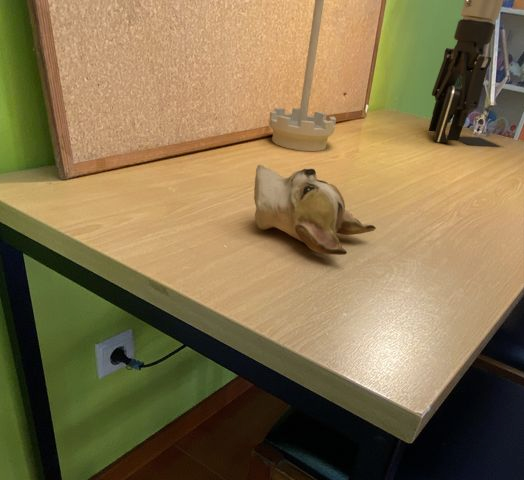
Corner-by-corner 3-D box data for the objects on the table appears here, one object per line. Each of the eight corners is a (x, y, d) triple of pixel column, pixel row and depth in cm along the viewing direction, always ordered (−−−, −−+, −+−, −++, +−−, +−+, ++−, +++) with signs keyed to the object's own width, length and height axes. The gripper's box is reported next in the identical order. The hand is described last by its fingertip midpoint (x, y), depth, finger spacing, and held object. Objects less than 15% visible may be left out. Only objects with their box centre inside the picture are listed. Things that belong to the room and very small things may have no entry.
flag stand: (323, 156, 95) (358, -43, 78) (258, 143, 98) (278, -53, 81) (336, 142, 106) (369, -36, 88) (277, 131, 108) (298, -45, 91)
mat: (499, 146, 121) (500, 146, 121) (468, 145, 118) (468, 144, 118) (479, 137, 127) (479, 137, 127) (449, 136, 125) (449, 135, 125)
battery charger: (450, 145, 116) (468, 90, 109) (433, 142, 117) (450, 87, 110) (448, 139, 122) (465, 86, 115) (433, 136, 122) (448, 83, 116)
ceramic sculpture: (281, 143, 63) (392, 180, 59) (270, 209, 69) (371, 247, 64) (235, 159, 56) (358, 203, 51) (226, 231, 61) (337, 278, 56)
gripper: (436, 14, 112) (407, 124, 125) (493, 22, 97) (453, 146, 110) (464, 18, 114) (433, 125, 127) (524, 26, 99) (482, 148, 112)
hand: (442, 135), depth 119 cm, fingers closed on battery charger, 7 cm apart
